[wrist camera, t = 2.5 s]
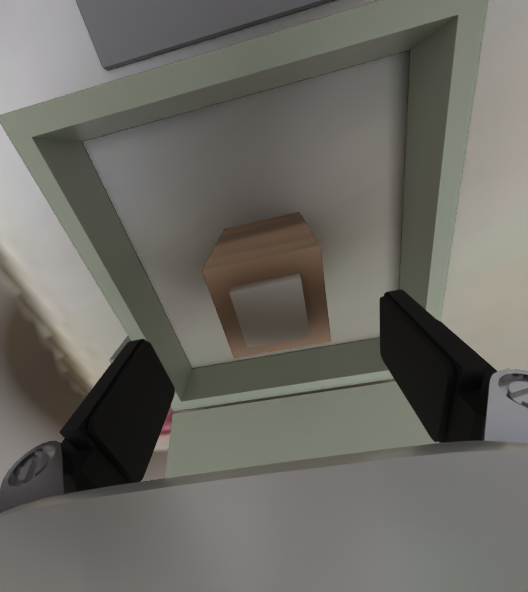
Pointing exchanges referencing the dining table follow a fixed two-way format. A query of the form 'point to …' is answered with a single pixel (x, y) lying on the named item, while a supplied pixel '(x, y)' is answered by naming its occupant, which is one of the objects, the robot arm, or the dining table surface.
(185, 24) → the mat
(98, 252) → the case
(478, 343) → the dining table surface
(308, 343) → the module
